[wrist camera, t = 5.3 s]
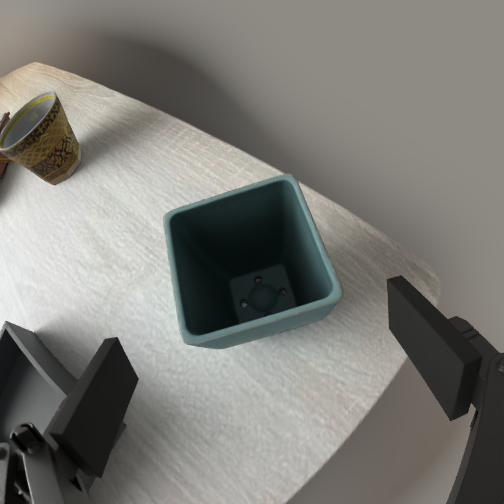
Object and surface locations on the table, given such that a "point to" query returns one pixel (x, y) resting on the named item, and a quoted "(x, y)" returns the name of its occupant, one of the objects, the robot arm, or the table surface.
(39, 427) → the tote
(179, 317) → the flower pot
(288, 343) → the table surface
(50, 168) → the ceramic cup
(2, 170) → the book
